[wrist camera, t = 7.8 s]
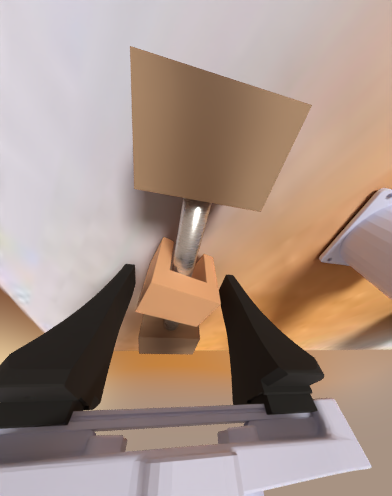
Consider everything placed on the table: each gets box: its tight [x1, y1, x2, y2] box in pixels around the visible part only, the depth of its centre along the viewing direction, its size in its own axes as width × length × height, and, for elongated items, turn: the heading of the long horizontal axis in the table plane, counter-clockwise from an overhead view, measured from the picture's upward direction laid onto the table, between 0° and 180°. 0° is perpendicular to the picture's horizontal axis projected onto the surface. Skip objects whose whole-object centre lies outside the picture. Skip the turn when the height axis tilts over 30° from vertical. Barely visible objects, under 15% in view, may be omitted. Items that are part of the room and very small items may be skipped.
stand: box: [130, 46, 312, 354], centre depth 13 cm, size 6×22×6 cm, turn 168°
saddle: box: [135, 237, 221, 327], centre depth 13 cm, size 5×4×5 cm
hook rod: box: [164, 198, 211, 331], centre depth 12 cm, size 2×18×2 cm, turn 168°
